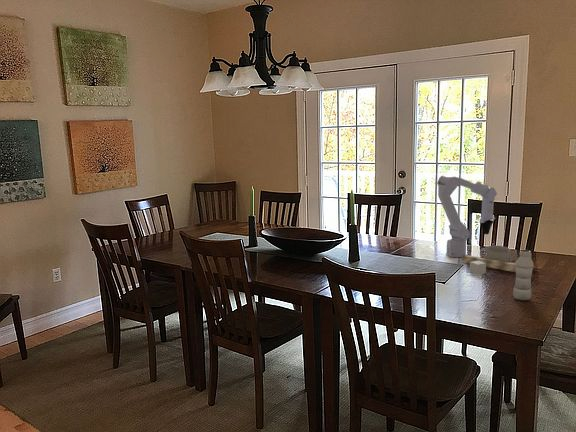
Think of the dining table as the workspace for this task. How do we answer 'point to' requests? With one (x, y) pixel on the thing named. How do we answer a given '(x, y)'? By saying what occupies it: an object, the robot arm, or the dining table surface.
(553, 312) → the dining table surface
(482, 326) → the dining table surface
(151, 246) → the dining table surface
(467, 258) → the bar
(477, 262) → the grey block
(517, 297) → the plastic bottle
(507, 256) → the teacup
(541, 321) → the dining table surface
